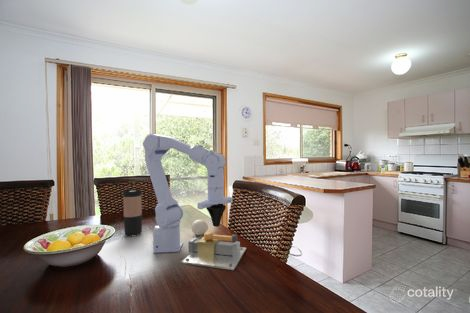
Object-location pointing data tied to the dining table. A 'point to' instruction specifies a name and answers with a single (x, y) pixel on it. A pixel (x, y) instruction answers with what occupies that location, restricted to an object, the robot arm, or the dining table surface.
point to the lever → (220, 237)
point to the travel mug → (132, 212)
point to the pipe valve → (213, 247)
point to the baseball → (199, 227)
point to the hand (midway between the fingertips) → (216, 225)
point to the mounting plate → (214, 260)
